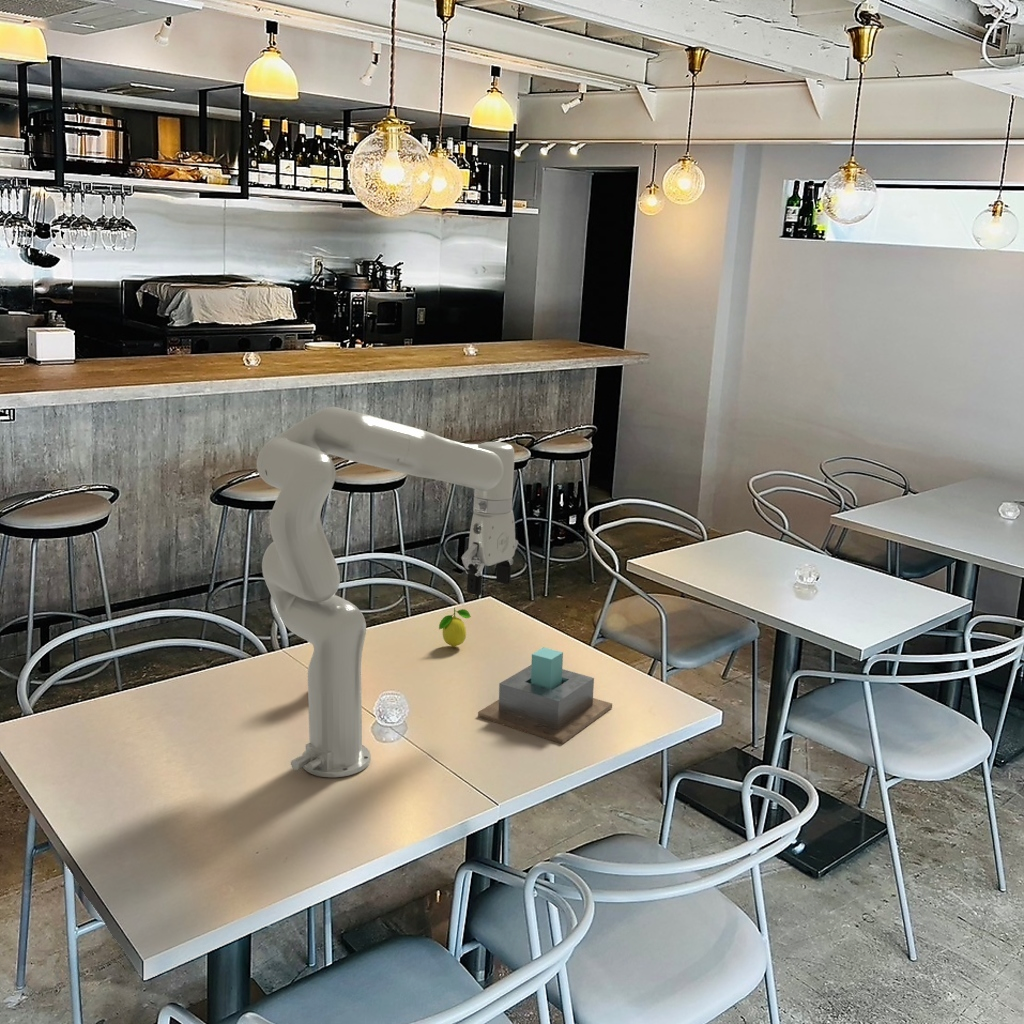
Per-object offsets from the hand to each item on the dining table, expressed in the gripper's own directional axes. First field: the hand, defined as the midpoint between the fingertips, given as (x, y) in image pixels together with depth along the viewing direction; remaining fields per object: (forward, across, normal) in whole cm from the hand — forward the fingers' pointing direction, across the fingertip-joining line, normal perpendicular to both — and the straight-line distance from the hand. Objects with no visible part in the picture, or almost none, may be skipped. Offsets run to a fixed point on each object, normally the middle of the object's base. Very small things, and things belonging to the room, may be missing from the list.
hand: (488, 588), depth 212 cm
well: (+26, +7, -11) cm, 29 cm away
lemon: (+26, +22, +26) cm, 43 cm away
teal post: (+25, +6, -11) cm, 28 cm away
